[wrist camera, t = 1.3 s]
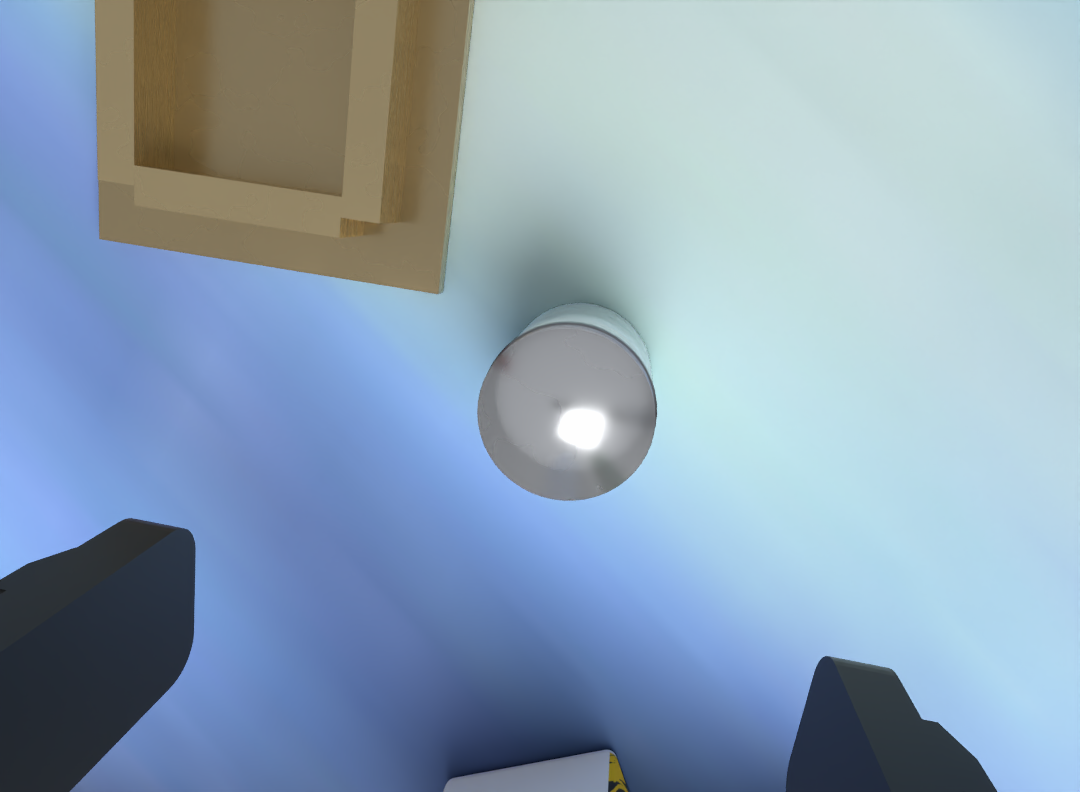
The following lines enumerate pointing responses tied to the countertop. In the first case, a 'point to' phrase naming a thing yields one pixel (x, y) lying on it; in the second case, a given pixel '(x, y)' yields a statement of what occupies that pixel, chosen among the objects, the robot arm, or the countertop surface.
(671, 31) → the countertop surface
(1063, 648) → the countertop surface
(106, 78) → the collar
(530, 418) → the cylinder
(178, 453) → the countertop surface
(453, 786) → the medicine bottle
